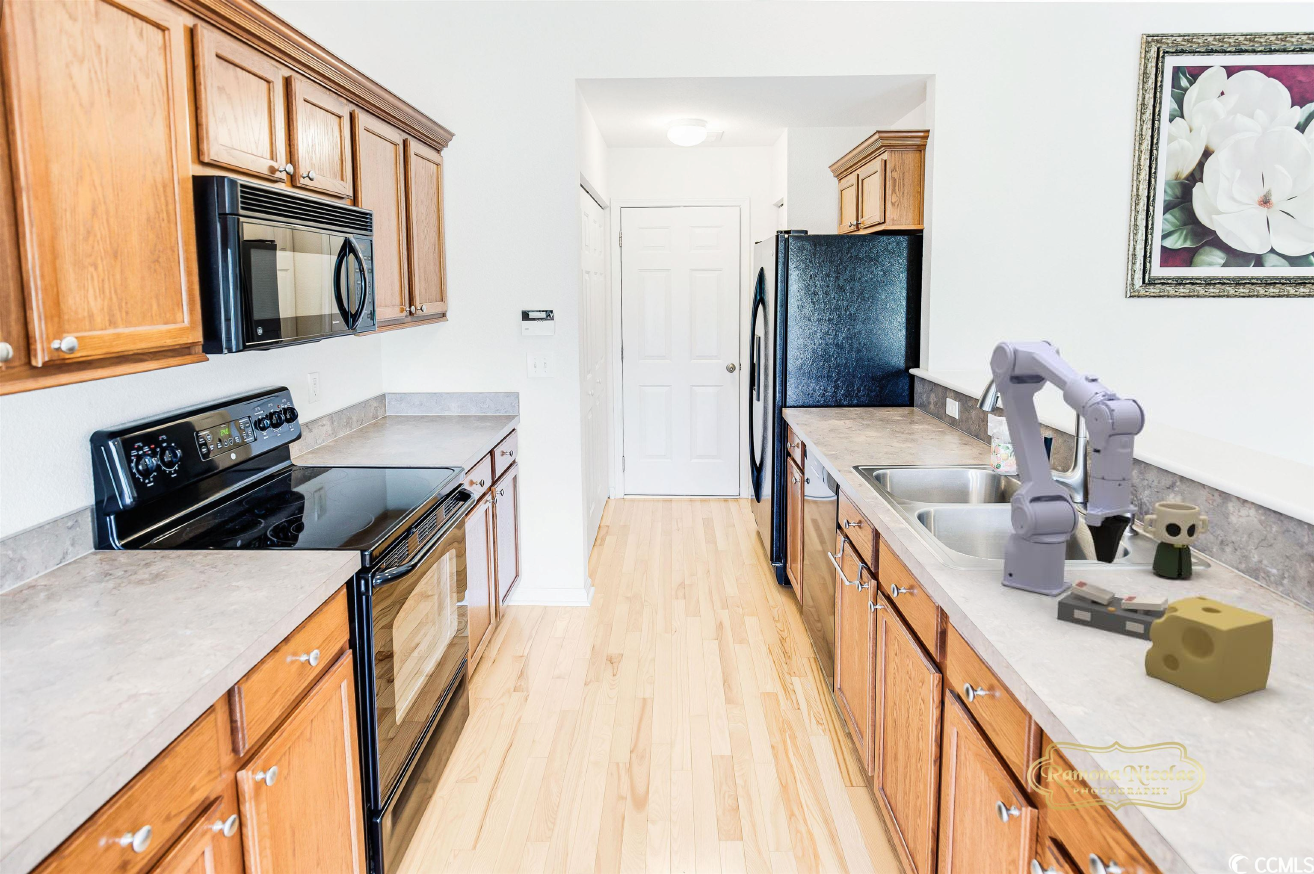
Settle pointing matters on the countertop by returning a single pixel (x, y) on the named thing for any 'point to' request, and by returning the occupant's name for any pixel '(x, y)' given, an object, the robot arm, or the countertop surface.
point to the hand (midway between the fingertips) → (1105, 561)
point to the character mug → (1174, 536)
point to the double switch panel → (1108, 615)
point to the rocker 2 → (1144, 603)
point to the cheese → (1211, 648)
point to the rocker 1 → (1092, 592)
